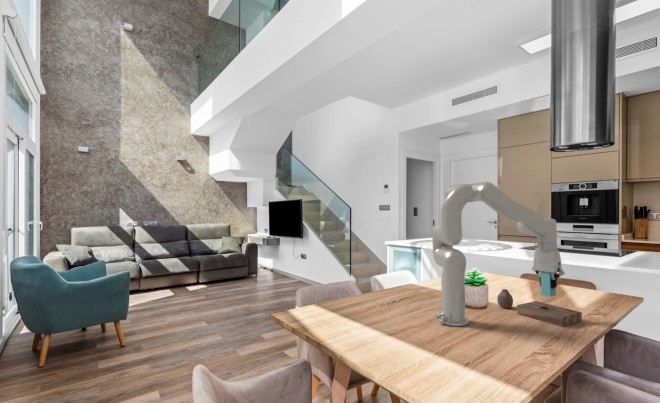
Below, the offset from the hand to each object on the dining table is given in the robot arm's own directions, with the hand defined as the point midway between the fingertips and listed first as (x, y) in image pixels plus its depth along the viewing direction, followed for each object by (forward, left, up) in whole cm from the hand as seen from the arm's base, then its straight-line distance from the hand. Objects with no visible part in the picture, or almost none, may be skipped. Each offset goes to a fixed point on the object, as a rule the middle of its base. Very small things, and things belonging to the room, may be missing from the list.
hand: (548, 286), depth 153 cm
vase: (-3, +19, -14) cm, 24 cm away
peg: (0, 0, -4) cm, 4 cm away
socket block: (0, 0, -14) cm, 14 cm away
